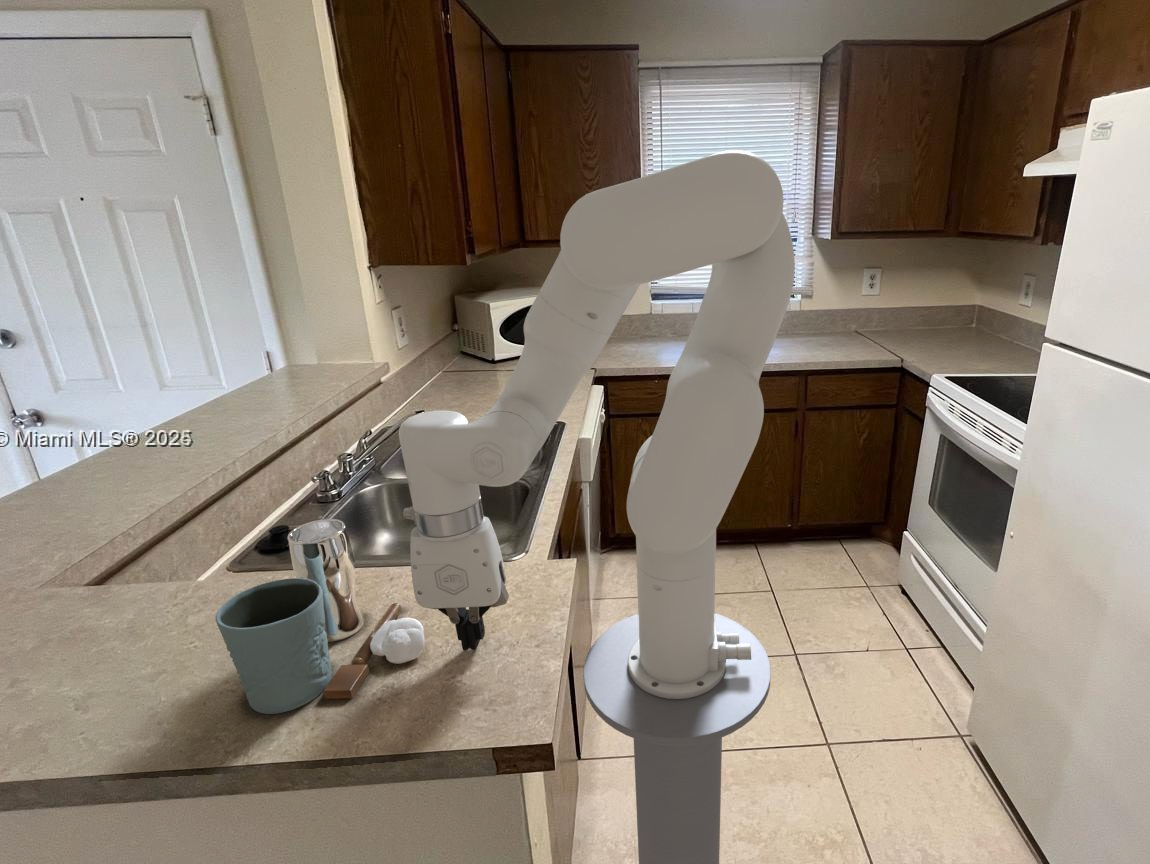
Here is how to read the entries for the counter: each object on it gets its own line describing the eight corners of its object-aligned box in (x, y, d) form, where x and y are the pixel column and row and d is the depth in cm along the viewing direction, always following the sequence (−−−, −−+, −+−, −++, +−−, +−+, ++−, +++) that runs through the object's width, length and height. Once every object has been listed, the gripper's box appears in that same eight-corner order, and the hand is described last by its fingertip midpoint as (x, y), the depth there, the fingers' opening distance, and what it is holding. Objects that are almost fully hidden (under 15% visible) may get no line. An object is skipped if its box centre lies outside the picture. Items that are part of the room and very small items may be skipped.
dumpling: (433, 639, 81) (432, 619, 79) (417, 672, 77) (416, 651, 75) (380, 631, 81) (378, 610, 79) (361, 664, 76) (358, 643, 74)
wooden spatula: (387, 610, 87) (385, 600, 86) (409, 610, 87) (407, 600, 86) (324, 699, 71) (322, 688, 70) (352, 698, 71) (349, 687, 70)
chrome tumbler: (304, 628, 83) (278, 530, 78) (357, 606, 88) (336, 513, 83) (320, 651, 79) (294, 550, 74) (375, 627, 83) (355, 530, 78)
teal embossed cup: (223, 702, 71) (194, 615, 66) (304, 648, 79) (283, 569, 75) (281, 730, 67) (254, 639, 63) (360, 670, 75) (340, 587, 71)
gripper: (372, 533, 68) (403, 665, 75) (505, 528, 68) (524, 660, 75) (399, 503, 76) (425, 626, 82) (520, 499, 76) (536, 622, 82)
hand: (472, 642), depth 78 cm, fingers closed
